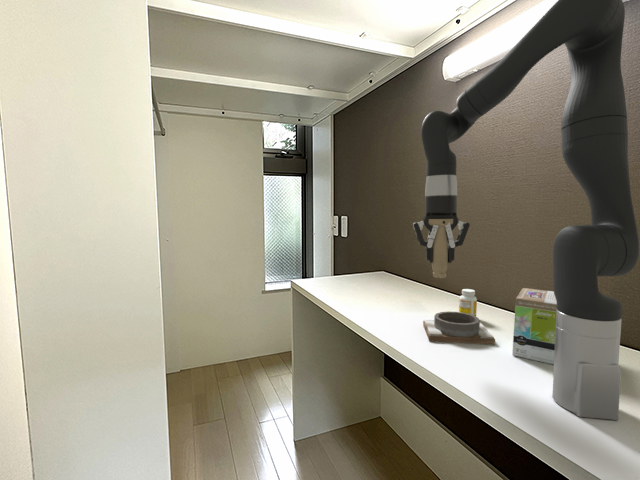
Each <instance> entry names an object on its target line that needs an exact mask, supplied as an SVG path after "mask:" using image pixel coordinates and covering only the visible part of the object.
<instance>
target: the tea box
mask: <svg viewBox="0 0 640 480" xmlns="http://www.w3.org/2000/svg"><path fill="white" fill-rule="evenodd" d="M514 306H515V308H514V321H513V322H514V323H513V338H512V339H513V340H512V356H515V357H519V358H522V359H527V360H532V361H535V362H540V363H541V362H542V363H545V364H549V365H554V350H555V329H556V310H557V301H556V298H555V295H554V290H553V291H552V290H545V289H544V290H543V289H536V288H528V287H527V288H526V287H522V289H521V290H520V292H519V293H518V295H517V296H516V297H515V305H514Z"/></svg>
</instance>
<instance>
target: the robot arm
mask: <svg viewBox="0 0 640 480" xmlns="http://www.w3.org/2000/svg"><path fill="white" fill-rule="evenodd" d="M624 4H625V3H624V1H623V0H557V1H556V2H555V3H554V4H553V5H552V6H551V7H550V8H549V10H548V11H546V13H545V14H544V15H543V16H542V17H541V18H540V19H539V20H538V21H537V22H536V23H535V24H534V26H532V27H531V28H530V29H529V30H528V31H527V33H526V34H525V35H523V37H522V38H521V39H520V40H519V41H518V42H517V43H516V44H515V45H514V46H513V47H512V48H511V49H510V50H509V51H508V52H507V53H505V54H506V55H504V56H503V57H502V59H500V60H499V61H498V62H497V63H496V64H495V65H494V66H492V68H490V69H489V70H488V71H487V72H485V74H483V75H482V76H481V77H480V78H478V79H477V80H476V81H475V82H473V84H471V85H470V86H469V87H467V88H466V89H465V90H464V91H462V92H461V94H460V95H459V96H458V97H457V98H456V101H455V102H456V108H454V109H453V110H452V111H451V112H450V113H448V112H445V111H442V110H434V111H433V110H432V111H431V112H429V113H428V114H427V115H426V116H425V118H424V119H423V121H422V124H421V128H420V130H421V131H420V132H421V133H420V136H421V142H422V146H423V152H424V155H425V158H426V178H425V179H426V180H425V185H424V186H425V190H424V197H425V198H424V200H425V201H424V217H423V219H422V220H421V221H418V222H413V223H412V227H413V230H414V233H415V235H416V239H417V242H418V244H419V245H420V246H423V247H425V259H426V260H427V262H428V263H431V264H432V259H433V248H432V244H433V241H434V239H435V235H436V232H437V229H438V226H437V225H433V226H431V225H430V224H429V219H453V224H451V225H450V222H449V224H448V225H446V226H445V229H446V235H447V242H448V264H452V262H453V261H454V260H455V249H456V247H460V246H463V244H464V241H465V239H466V236H467V233H468V230H469V228H470V223H469V222H465V221H461V220H459V218H458V216H457V215H458V209H457V208H458V206H457V205H458V181H457V180H458V179H457V156H456V154H455V153H454V152H453V151H452V150H451V149H450V144H451V143H454V142H456V141H458V140H459V139H460V138H462V137H463V136H464V135H465V134H466V133H467V132H468V130H469V129H470V128H472V127H473V126H474V125H475V123H476V122H477V121H478V120H479V119H481V117H483V116H485V114H487V113H488V112H490V111H491V110H492V109H494V108H495V107H497V106H498V105H499V104H501V103H502V102H503V101H504V100H505V99H507V98H508V97H509V96H510V95H511V94H512V93H513V92H514V91H515V90H516V88H517V87H518V86H519V84H521V83H520V82H522V81H523V79H524V78H525V77H526V76H527V74H528V73H529V71H531V69H533V67H534V66H536V65H537V64H538V63H539V62H540V61H541V60H543V58H545V57H546V56H548V55H549V54H550V53H552V52H553V51H554V50H556V49H557V48H559V47H561V46H562V45H565V47H566V50H567V54H568V59H569V60H568V61H569V68H570V86H569V90H568V95H567V98H566V100H565V104H564V107H563V111H562V117H561V123H560V124H561V125H560V134H561V135H560V137H561V154H562V159H563V160H564V163H565V165H566V167H567V169H569V171H570V172H571V174H572V175H573V177H574V179H575V180H576V181H577V182H578V184H579V185H580V187H581V189H582V190H583V191H584V193H585V195H586V197H587V200H588V203H589V209H590V215H591V216H590V218H591V224H574V225H569V226H566V227H564V228H562V229H561V230H560V231H559V232H558V233H557V234H556V236H555V239H554V242H553V247H552V280H553V281H552V284H553V285H552V288H553V291H554V295H555V298H556V301H557V310H556V329H555V350H554V364H553V374H552V375H553V379H552V399H553V400H554V402H556V403H557V404H558V405H559V406H560V407H562V408H564V409H566V410H568V411H570V412H572V413H574V414H575V415H576V416H578V417H580V418H589V419H590V418H591V419H599V420H600V419H602V420H603V419H604V420H615V421H618V420H619V414H620V413H619V412H620V411H619V410H620V396H621V383H622V382H621V379H622V378H621V377H622V367H621V365H619V362H620V346H621V334H622V332H621V331H622V318H623V317H622V316H623V306H622V303H621V301H620V300H618V299H616V298H614V297H611V296H609V295H605V294H603V293H602V292H601V291H600V290H599V285H598V277H619V276H623V275H624V276H625V275H627V274H628V273H630V272H631V271H633V269H634V268H635V267H636V265H637V262H638V260H639V256H640V239H639V232H638V228H637V222H636V216H635V210H634V205H633V200H632V193H631V181H630V168H629V152H628V151H629V147H628V145H629V134H628V133H629V132H628V112H627V103H626V93H625V86H624V80H623V75H622V64H621V63H622V61H621V59H622V49H623V48H622V47H623V36H624V28H625V16H626V10H625V5H624ZM424 226H425V228H426V229H427V230H428V233H427V239H426V240H424V237H423V233H422V230H423V227H424ZM456 227H458V230H459V231H458V235H457V237H456V240H455V239H454V235H453V234H454V233H453V230H454V229H455V228H456Z"/></svg>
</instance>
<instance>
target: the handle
mask: <svg viewBox="0 0 640 480" xmlns="http://www.w3.org/2000/svg"><path fill="white" fill-rule="evenodd" d="M449 222H450V225H451V224H453V219H429V224H430V225H431V226H433V225H437V226H438V229H437V232H436V235H435V239H434V241H433V244H432V248H433V259H432V263H431V268H432V277H433V278H435V279H446V278H447V275H448V273H447V271H448V265H449V263H448V242H447V235H446V229H445V226H446V225H448V224H449Z"/></svg>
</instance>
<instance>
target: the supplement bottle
mask: <svg viewBox="0 0 640 480" xmlns="http://www.w3.org/2000/svg"><path fill="white" fill-rule="evenodd" d="M461 294H462V295H459V299H458V300H459V305H458V309H459V311H458V312H461V313H467V314H471V315H473V316H476V317H477V311H478V310H477V304H478V298H477V297H476V296H475V295H476V291H475V290H474V289H470V288H463V289H462V290H461Z"/></svg>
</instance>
